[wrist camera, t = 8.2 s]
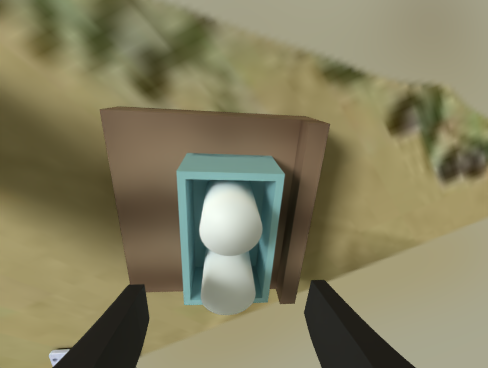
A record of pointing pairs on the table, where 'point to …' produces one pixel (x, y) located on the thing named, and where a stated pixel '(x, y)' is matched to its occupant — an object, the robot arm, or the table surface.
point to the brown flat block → (166, 194)
